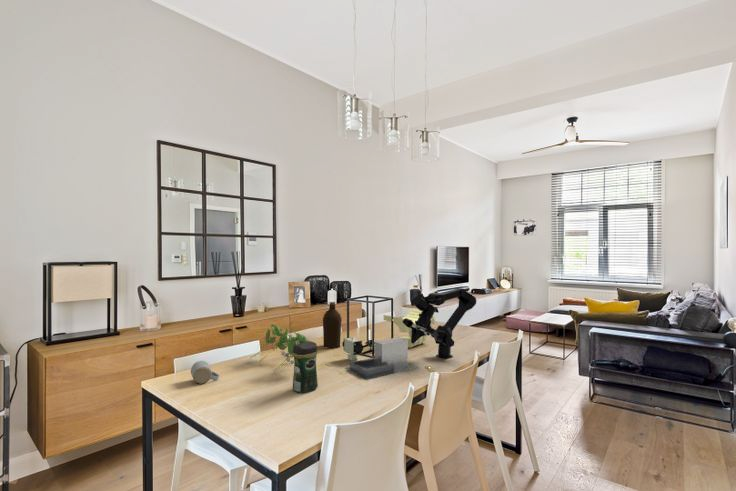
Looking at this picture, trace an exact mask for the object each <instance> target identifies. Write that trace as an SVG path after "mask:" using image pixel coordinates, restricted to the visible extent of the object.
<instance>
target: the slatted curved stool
mask: <svg viewBox="0 0 736 491" xmlns="http://www.w3.org/2000/svg"><path fill="white" fill-rule="evenodd" d="M421 313H422V311H420V310H419V309H418V308H417V309H416V308H412V309H411V310H410V311H409V312H408V314H406V315H405V316H404V317H396V316H392V317H393V319H392V321H393V324H395V325H396V326H397V327H398V329H399V332H400V333H408V335H409V336H401V338H404V339H407V340H408V348H413V347H415V346H419V345H421V344H424V343H426V341H427V335H426V336H422V337H420V338H419V339H418V340H417V341H416V342H415V343H414V344H412V343H411V337H412V329H411V328H409V327H407V326H406V325H405V324H404V323H403V322H402V321H403V320H404V319H405V318H407V319H410V320H411V321H412V322H413V323H414V324H416V323H415V321H417V320H418V318H419V314H421ZM383 321H386V322H390V323H392V322H391V315H386V314H384V315H383ZM431 321H432V322H431V325H435V324H436V322H435V321H436V317H435V314H434V315H433V316H432V318H431Z"/></svg>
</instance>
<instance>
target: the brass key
mask: <svg viewBox="0 0 736 491" xmlns="http://www.w3.org/2000/svg"><path fill="white" fill-rule="evenodd" d="M424 368H425V369H427V370H428V371H430V373H434V372H433V371H435V370H434V369H433V368H432V366H430V365H428V366H427V365H425V367H424Z"/></svg>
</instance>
